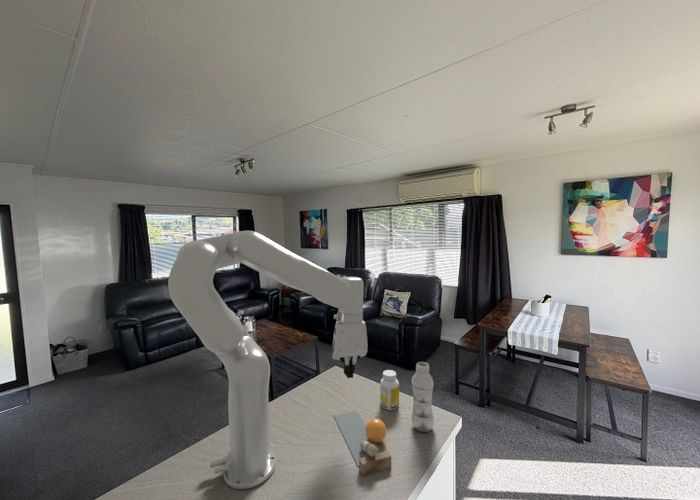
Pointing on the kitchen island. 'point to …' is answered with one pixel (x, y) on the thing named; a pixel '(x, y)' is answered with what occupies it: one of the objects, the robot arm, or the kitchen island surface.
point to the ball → (375, 430)
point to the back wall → (375, 463)
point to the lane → (354, 433)
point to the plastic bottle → (422, 398)
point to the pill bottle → (389, 390)
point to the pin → (368, 448)
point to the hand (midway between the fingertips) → (348, 376)
